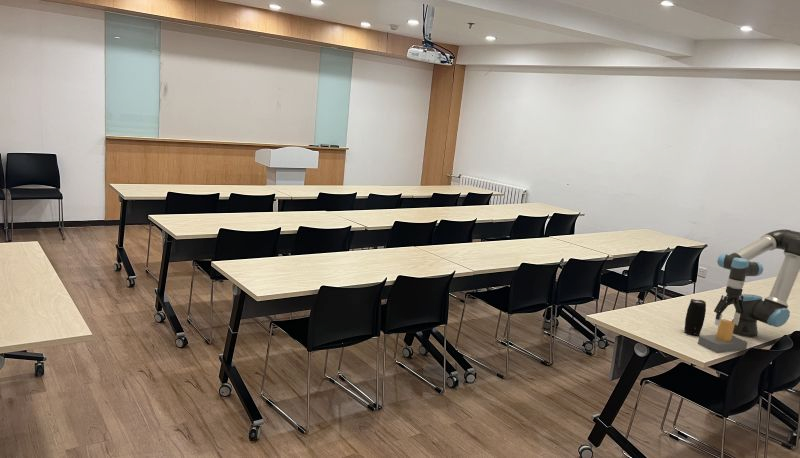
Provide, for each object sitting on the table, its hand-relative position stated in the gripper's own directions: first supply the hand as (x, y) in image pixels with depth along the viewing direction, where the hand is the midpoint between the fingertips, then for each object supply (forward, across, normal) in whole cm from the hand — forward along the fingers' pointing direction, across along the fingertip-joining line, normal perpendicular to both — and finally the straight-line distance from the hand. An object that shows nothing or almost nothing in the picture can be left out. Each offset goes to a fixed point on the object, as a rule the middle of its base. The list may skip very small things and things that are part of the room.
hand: (726, 324), depth 317 cm
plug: (+13, 0, 0) cm, 13 cm away
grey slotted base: (+13, 0, 0) cm, 13 cm away
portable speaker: (+13, 0, +19) cm, 23 cm away
